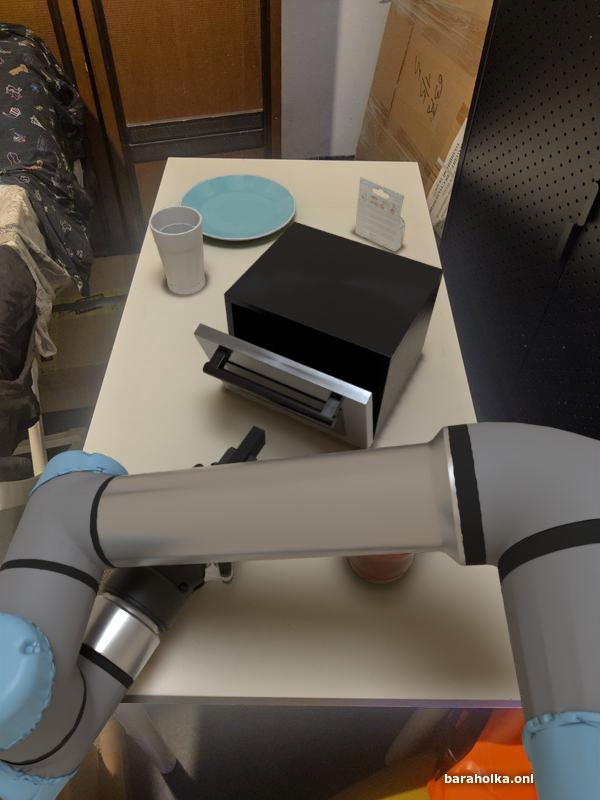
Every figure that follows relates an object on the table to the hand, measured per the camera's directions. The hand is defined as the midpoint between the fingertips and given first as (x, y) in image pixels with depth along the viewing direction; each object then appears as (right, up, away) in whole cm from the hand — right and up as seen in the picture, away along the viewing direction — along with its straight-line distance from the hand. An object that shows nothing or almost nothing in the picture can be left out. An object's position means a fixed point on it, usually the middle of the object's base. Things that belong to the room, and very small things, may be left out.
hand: (259, 434), depth 65 cm
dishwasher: (+9, +9, +16) cm, 21 cm away
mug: (+15, -13, -2) cm, 20 cm away
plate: (-7, +39, +41) cm, 57 cm away
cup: (-15, +24, +28) cm, 40 cm away
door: (+4, +1, +10) cm, 11 cm away
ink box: (+19, +34, +37) cm, 54 cm away
